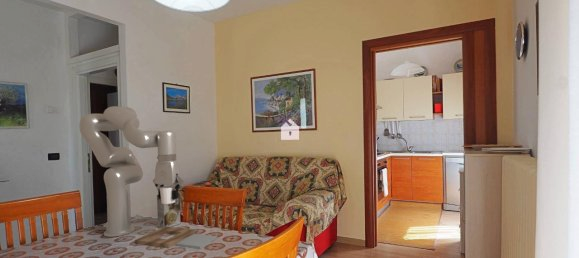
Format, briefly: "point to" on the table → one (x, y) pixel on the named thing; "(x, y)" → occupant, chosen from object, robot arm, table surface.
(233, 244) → the table surface
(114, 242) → the table surface
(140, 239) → the pocket board
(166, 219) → the coffee box
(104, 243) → the table surface
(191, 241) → the ceramic tile
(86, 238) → the table surface
